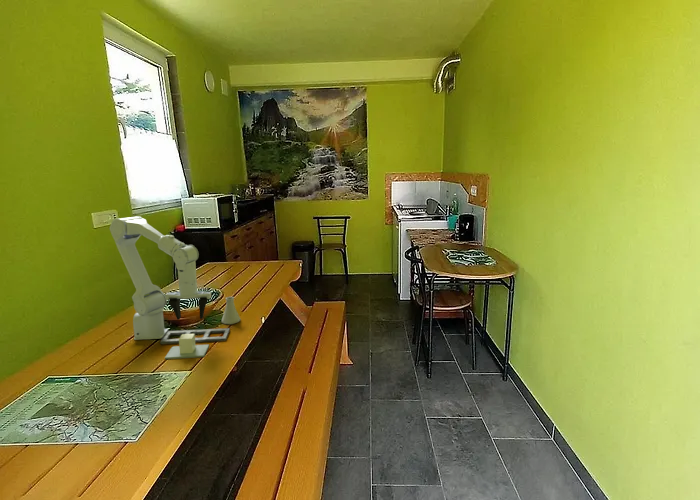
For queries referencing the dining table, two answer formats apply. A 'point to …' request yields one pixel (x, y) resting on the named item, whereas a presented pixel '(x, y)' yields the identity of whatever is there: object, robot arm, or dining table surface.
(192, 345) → the peg
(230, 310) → the flask
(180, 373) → the dining table surface
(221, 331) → the grey slotted frame
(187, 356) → the pad
